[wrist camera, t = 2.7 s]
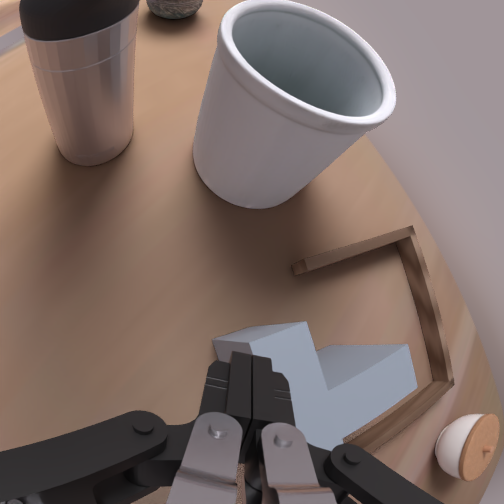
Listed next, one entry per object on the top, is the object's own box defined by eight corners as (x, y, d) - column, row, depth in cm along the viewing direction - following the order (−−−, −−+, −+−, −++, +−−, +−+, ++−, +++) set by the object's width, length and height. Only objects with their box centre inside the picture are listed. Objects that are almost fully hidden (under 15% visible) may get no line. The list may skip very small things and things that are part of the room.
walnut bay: (291, 265, 33) (304, 258, 31) (397, 232, 40) (412, 225, 37) (348, 450, 30) (363, 457, 27) (439, 383, 36) (454, 384, 34)
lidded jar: (470, 427, 37) (512, 431, 28) (440, 480, 33) (482, 491, 24) (450, 398, 36) (498, 401, 28) (415, 457, 32) (464, 470, 24)
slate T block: (211, 339, 29) (249, 342, 18) (316, 302, 33) (390, 284, 22) (256, 460, 27) (310, 512, 16) (350, 414, 31) (425, 434, 20)
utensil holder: (269, 243, 33) (372, 163, 17) (158, 162, 32) (177, 31, 16) (324, 157, 39) (409, 74, 23) (232, 92, 37) (281, -14, 21)
